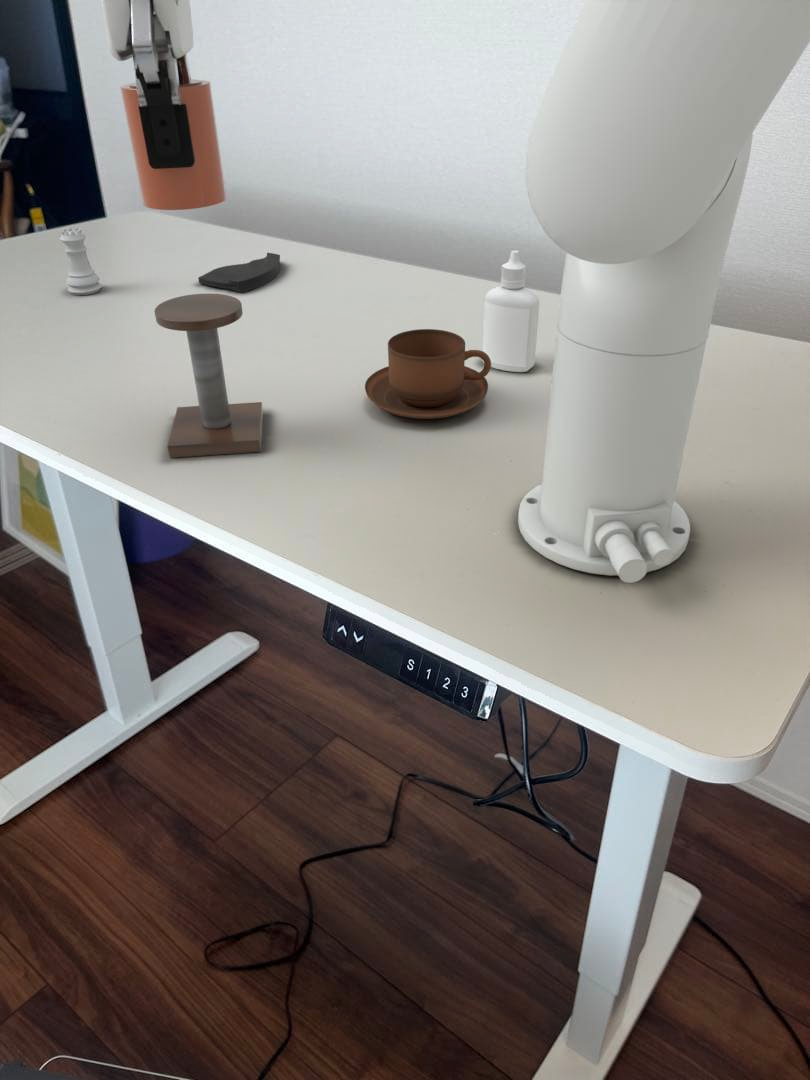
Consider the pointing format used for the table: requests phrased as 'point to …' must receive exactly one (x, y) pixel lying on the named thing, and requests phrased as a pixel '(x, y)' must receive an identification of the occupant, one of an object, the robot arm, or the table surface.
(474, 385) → the cup and saucer
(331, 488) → the table surface
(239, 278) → the fan shaped piece
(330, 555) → the table surface
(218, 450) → the cat scratching post
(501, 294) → the eye dropper bottle
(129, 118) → the terracotta cup
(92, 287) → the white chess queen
